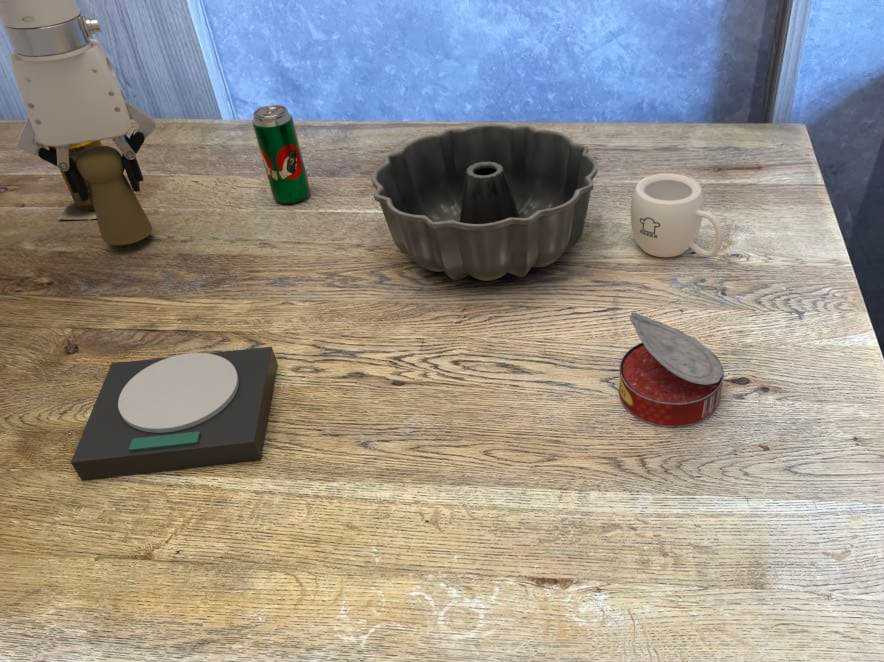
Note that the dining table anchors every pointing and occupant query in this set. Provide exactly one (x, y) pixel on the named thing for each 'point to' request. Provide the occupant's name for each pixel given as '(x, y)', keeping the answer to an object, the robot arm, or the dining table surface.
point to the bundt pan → (486, 198)
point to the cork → (112, 196)
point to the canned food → (669, 376)
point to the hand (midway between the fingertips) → (110, 190)
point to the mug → (670, 215)
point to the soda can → (281, 154)
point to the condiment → (77, 206)
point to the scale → (178, 414)
